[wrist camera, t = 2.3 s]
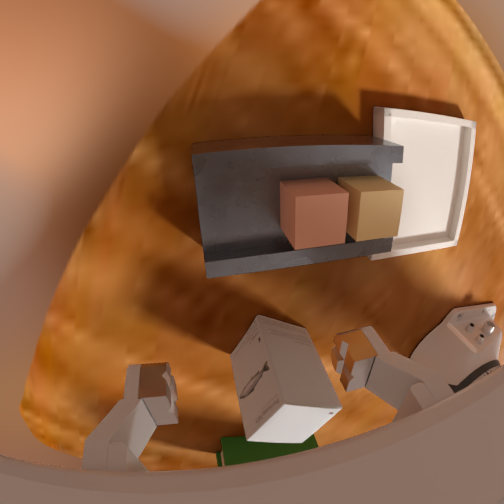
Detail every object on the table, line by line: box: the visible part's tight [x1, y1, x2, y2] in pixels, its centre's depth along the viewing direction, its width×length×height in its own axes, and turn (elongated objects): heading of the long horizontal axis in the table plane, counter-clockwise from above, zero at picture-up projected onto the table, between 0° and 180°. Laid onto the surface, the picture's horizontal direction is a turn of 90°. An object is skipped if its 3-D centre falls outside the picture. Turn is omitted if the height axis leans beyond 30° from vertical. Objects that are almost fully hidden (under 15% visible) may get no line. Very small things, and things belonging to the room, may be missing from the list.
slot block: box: [192, 135, 404, 278], centre depth 26 cm, size 17×10×6 cm, turn 92°
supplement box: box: [230, 315, 342, 443], centre depth 32 cm, size 7×7×13 cm
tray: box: [366, 106, 476, 261], centre depth 30 cm, size 14×16×2 cm
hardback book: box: [216, 434, 318, 467], centre depth 41 cm, size 18×7×24 cm, turn 77°
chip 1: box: [338, 176, 404, 242], centre depth 24 cm, size 4×4×4 cm
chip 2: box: [280, 178, 349, 250], centre depth 23 cm, size 4×4×4 cm
